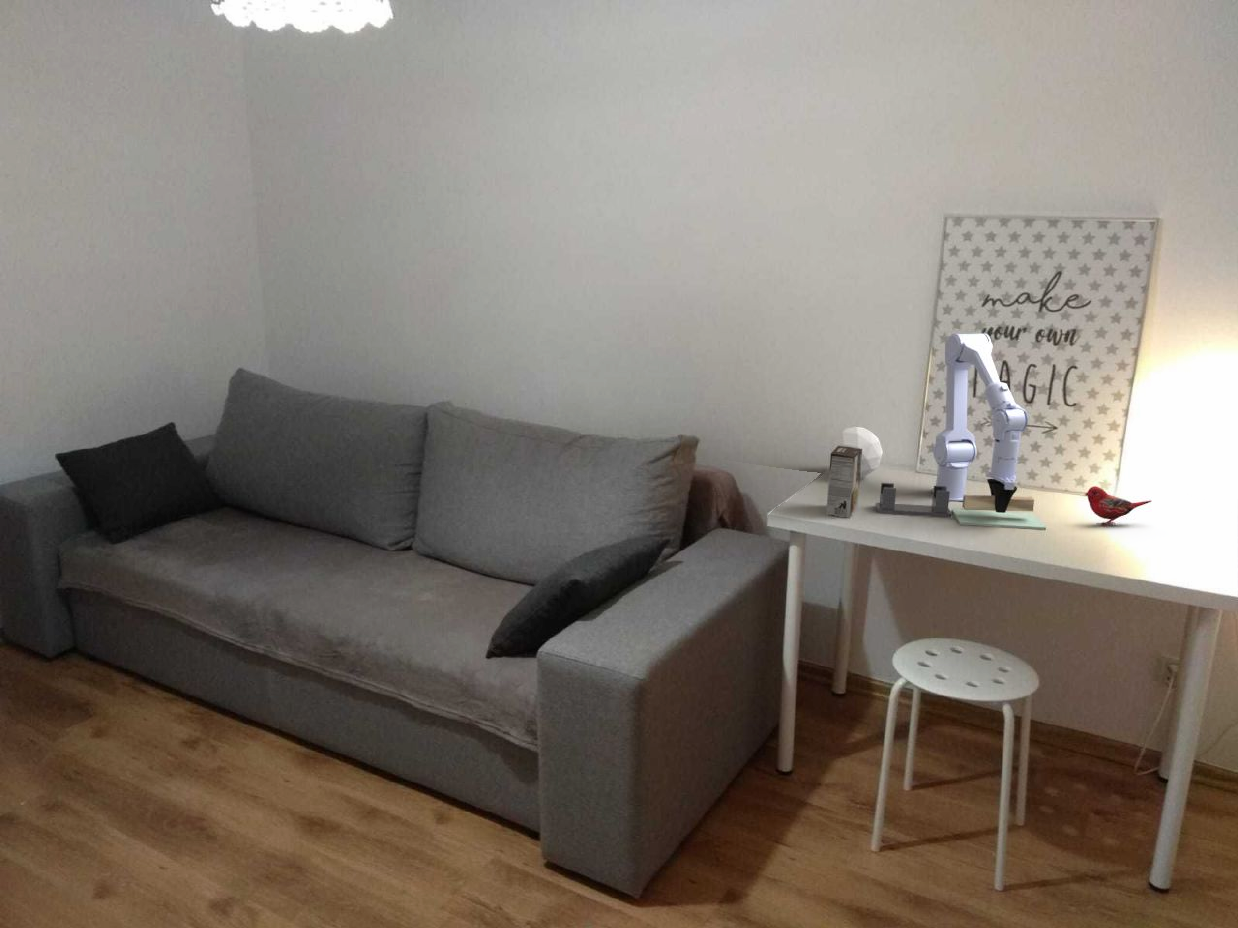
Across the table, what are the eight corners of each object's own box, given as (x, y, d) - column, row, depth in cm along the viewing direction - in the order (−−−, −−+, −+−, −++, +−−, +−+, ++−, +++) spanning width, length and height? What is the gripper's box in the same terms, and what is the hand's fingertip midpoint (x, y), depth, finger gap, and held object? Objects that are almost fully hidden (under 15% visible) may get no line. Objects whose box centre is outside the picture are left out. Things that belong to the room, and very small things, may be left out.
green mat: (951, 511, 242) (951, 509, 242) (1033, 516, 239) (1033, 513, 239) (959, 524, 231) (960, 522, 231) (1045, 529, 228) (1046, 527, 228)
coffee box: (833, 505, 245) (837, 445, 241) (858, 509, 242) (863, 448, 238) (824, 515, 237) (829, 452, 233) (850, 518, 234) (855, 455, 230)
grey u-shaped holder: (875, 506, 245) (877, 482, 243) (947, 510, 242) (949, 486, 241) (877, 513, 239) (879, 488, 238) (951, 517, 237) (954, 492, 235)
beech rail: (962, 506, 237) (963, 494, 236) (1029, 507, 235) (1030, 496, 234) (964, 509, 234) (965, 498, 233) (1032, 511, 232) (1034, 499, 231)
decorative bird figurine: (1076, 523, 234) (1082, 484, 231) (1144, 522, 235) (1150, 484, 233) (1083, 527, 231) (1089, 488, 228) (1151, 526, 232) (1158, 487, 230)
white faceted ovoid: (893, 464, 260) (883, 476, 280) (874, 413, 263) (866, 429, 283) (842, 480, 261) (836, 491, 281) (824, 430, 265) (819, 444, 284)
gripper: (981, 449, 239) (975, 500, 242) (994, 463, 225) (988, 517, 228) (1010, 450, 238) (1004, 502, 241) (1026, 465, 224) (1018, 519, 227)
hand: (998, 510), depth 234 cm, fingers closed on beech rail, 3 cm apart
